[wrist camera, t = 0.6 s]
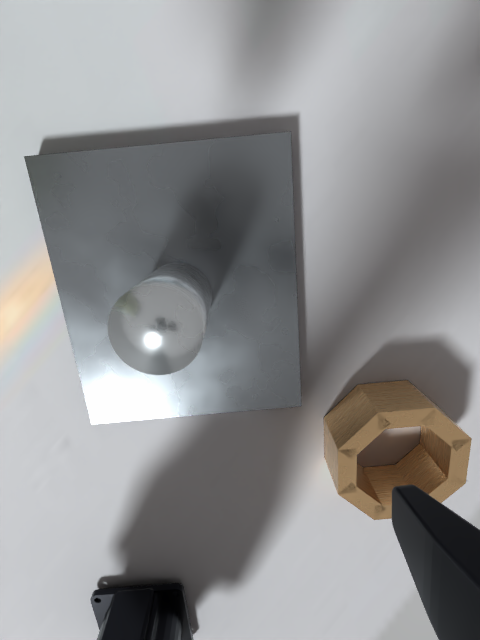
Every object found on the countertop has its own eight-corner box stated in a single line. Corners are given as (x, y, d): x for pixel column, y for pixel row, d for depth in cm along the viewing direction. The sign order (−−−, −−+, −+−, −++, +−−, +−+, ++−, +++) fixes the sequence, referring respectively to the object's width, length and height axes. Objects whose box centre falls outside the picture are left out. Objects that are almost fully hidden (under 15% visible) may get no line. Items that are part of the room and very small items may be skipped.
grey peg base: (298, 397, 21) (326, 477, 14) (98, 414, 21) (40, 501, 15) (287, 136, 16) (320, 91, 10) (36, 159, 17) (-83, 128, 10)
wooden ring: (432, 474, 23) (461, 512, 20) (324, 483, 23) (338, 522, 20) (442, 377, 20) (476, 404, 18) (323, 387, 20) (337, 416, 18)
